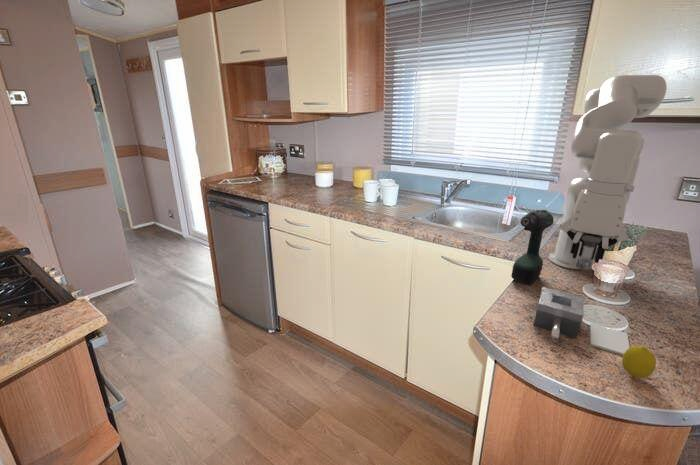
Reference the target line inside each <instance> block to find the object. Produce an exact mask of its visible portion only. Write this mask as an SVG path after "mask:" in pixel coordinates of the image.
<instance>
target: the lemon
mask: <svg viewBox="0 0 700 465" xmlns="http://www.w3.org/2000/svg"><path fill="white" fill-rule="evenodd" d="M629 347H630V348H629V349H627V351H626V352H625V353H624V355H622V358H621V363H622V367H623V369H624V371H625V372H626V373H628V374H629V375H630V376H631V377H632V378H639V379H645V378H647V377H650V376H651V375H652V374H653V373H654V372H655V369H656V366H657V359H656V356H655V353H653V351H651V350H650V349H649V348H647V347H646V346H642V345H633V346H629Z"/></svg>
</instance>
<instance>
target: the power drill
mask: <svg viewBox="0 0 700 465" xmlns="http://www.w3.org/2000/svg"><path fill="white" fill-rule="evenodd" d="M554 220H555V219H554V217H553V215H552V213H551V212H549V211H548V210H547V209H537V210H532V211H530V212H527V213H525V215H524V216H522V217H521V218H520V225H521V226H522V227H523V230H524V231H527V232H530V234H529V240H528V245H527V251H526V253H524V254H521V256H519V257H518V258H517V259H515V262H514V263H513V265H512V270H511V278H512V279H513V280H514V281H515V280H516V281H517V282H521V283H523V284H526V285H530V286H531V285H533V283H534V282H536V280H537V279H538V278H539V277H540V276H541V272H542V270H543V265H544V262H543V261H544V260H543V259H542V257H541V256H540V250H541V244H542V238H543V234H544V231H545V230H546V229H548V228H550V227H551V226H552V225H554Z"/></svg>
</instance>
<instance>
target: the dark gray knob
mask: <svg viewBox="0 0 700 465" xmlns="http://www.w3.org/2000/svg"><path fill="white" fill-rule="evenodd" d="M579 241H580V242H582V244H581V248H580V252H579V256H578V259H577V263H576V267H578V268H580V269H579V270H585V271H589V270H591V268H592V265H593V262H594V257H595V254H596V250H597V247H598V245H602V236H599V235H593V234H587V233H583V234H582V236H581V238H580V239H579Z"/></svg>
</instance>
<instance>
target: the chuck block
mask: <svg viewBox="0 0 700 465" xmlns="http://www.w3.org/2000/svg"><path fill="white" fill-rule="evenodd" d="M584 303H585V297H583V296H579V295H575V294H572V293H568V292H563V291H559V290H556V289H551V288H548V287H545V286H542V288H541V292H540V296H539V299H538V304H537V308H536V313H535V316H534V321H533V325H532V326H533V327H537V328H539V329H543V330H547V331H550V332H551V335H550V338H551V340H552V341H555V342H556V341H559V339H560V335H563V336H565V337H569V338H572V339H575V340H576V339H577V337H578V334H579V331H580V328H581V325H582V321H583V319H584V312H585V308H584V307H585V306H584V305H585V304H584Z"/></svg>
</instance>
